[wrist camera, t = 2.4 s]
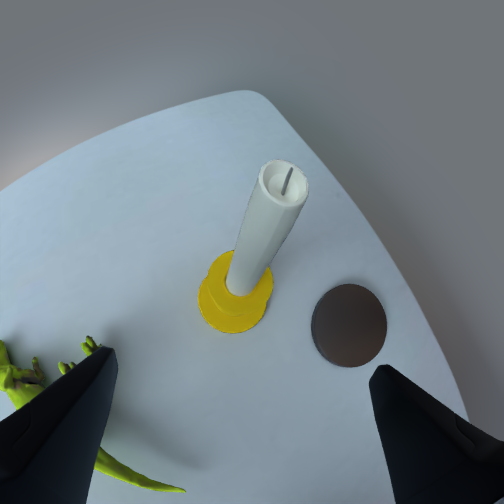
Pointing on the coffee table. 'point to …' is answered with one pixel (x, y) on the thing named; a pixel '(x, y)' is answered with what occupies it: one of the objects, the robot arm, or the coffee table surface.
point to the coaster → (349, 326)
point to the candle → (254, 250)
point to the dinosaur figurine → (29, 385)
